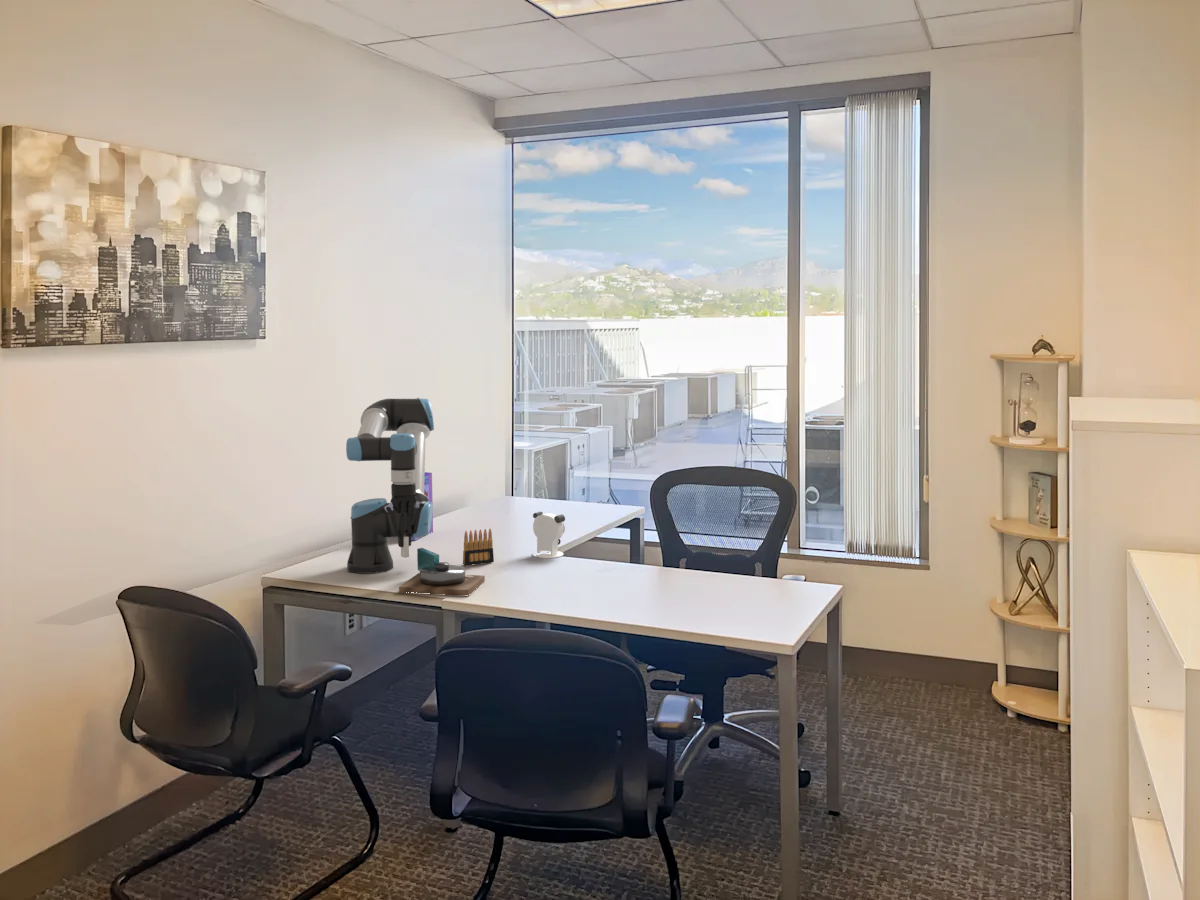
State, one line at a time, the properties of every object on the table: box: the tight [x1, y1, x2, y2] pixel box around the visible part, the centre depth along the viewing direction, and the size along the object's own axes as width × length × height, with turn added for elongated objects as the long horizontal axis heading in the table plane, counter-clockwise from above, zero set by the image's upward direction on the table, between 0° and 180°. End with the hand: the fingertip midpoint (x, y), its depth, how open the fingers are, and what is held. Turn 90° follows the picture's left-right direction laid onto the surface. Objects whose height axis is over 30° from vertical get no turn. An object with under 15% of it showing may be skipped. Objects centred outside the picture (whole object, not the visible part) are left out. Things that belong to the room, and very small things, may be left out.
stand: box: [398, 572, 486, 596], centre depth 314 cm, size 22×18×2 cm
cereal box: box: [411, 471, 434, 542], centre depth 390 cm, size 17×5×24 cm, turn 167°
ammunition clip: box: [462, 528, 495, 566], centre depth 345 cm, size 11×2×12 cm, turn 118°
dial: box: [416, 547, 466, 585], centre depth 317 cm, size 23×14×7 cm, turn 36°
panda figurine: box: [532, 511, 566, 559], centre depth 358 cm, size 12×11×15 cm
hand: (404, 556), depth 317 cm, fingers closed
